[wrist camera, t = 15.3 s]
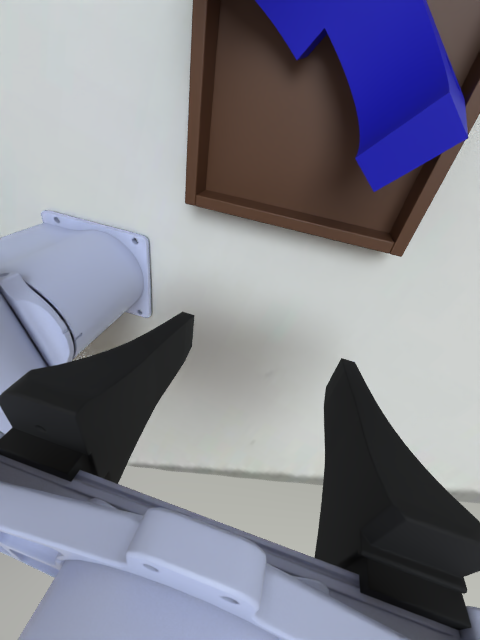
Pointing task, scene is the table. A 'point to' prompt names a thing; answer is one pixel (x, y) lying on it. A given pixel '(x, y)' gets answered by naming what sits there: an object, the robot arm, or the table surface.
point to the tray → (303, 129)
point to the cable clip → (384, 76)
